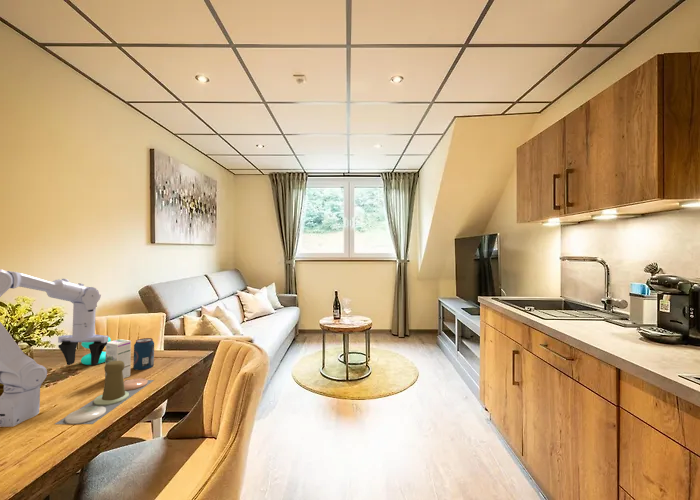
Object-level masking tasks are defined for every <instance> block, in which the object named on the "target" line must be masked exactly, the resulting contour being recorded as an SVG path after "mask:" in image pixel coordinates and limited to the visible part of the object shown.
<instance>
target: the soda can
mask: <svg viewBox="0 0 700 500" xmlns="http://www.w3.org/2000/svg"><path fill="white" fill-rule="evenodd" d="M154 361H155V342H154V339H153V338H151V337H150V338H149V337H146V338H145V337H143V338H139V339H136V340H135V343H134V345H133V362H132V363H133V367H132V368H133V370H135V371H144V370H149V369H152V368H153V367H154V364H155V362H154Z"/></svg>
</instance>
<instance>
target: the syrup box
mask: <svg viewBox="0 0 700 500" xmlns="http://www.w3.org/2000/svg"><path fill="white" fill-rule="evenodd" d="M131 350H132V340H128V339H123V338H122V339H121V338H120V339H119V338H118V339H114V340H111V341H110V342H107V344H106V346H105V352H106V359H105V362H104V363H105V365H106V364H107V363H109V362H111V361H123V362H124V365H125V367H124V369H123V371H122V373H123V380H124V379H125V378H129V377H130V376H131V362H132V361H131V360H132V359H131V354H132V351H131ZM105 365H104V366H105ZM106 374H107V373H106V372H105V371H104V380H105V379H106Z"/></svg>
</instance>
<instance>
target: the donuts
mask: <svg viewBox="0 0 700 500" xmlns="http://www.w3.org/2000/svg"><path fill="white" fill-rule="evenodd" d="M110 341H112V339H111V337H110V336H108V342H110ZM80 343H81V344H80V345H81V346H82V347H83V348H84V349H89V350H90V348H89V345H90V344H93V343H94V342H80ZM105 359H106V351H102V353H101V355H100V358H99V361H98V363H97V364H96V365H99V364H102V363H105ZM80 363H81V364H83V365H86V366H92V365H91V352H89V353H87V354H85V355H83V356H82V357H81V359H80Z"/></svg>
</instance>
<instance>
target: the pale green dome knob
mask: <svg viewBox="0 0 700 500" xmlns="http://www.w3.org/2000/svg"><path fill="white" fill-rule="evenodd" d="M102 395H103V393H102V394H99V395H98V396H96V397H95V398H94V399H93V400H94V404H95V405H99V406H104V405H111V404H115V403H119V402H121V401H124V400H125V399H127V398H128V397H129V393H128V392H126V391H125V395H124V396H123V397H121V398H118V399H115V400H103V399H102ZM127 400H128V399H127ZM124 402H125V401H124Z"/></svg>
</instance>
